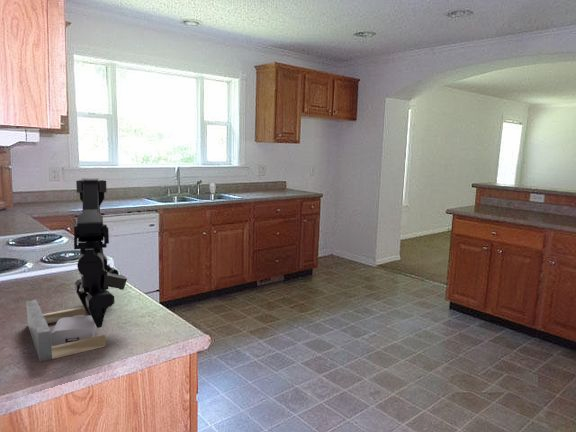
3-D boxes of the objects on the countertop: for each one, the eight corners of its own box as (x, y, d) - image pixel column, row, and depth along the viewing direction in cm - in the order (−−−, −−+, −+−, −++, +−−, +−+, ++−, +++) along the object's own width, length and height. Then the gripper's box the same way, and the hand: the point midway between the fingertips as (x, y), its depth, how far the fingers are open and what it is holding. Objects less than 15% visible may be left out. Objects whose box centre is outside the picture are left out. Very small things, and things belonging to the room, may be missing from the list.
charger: (98, 322, 122) (92, 345, 108) (62, 325, 119) (52, 349, 105) (97, 306, 122) (91, 327, 108) (61, 309, 119) (50, 331, 105)
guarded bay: (27, 325, 118) (26, 301, 117) (84, 314, 127) (83, 292, 126) (39, 361, 99) (37, 333, 97) (106, 346, 107) (104, 319, 106)
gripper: (133, 269, 112) (135, 326, 114) (114, 255, 127) (116, 305, 129) (87, 276, 105) (90, 336, 108) (72, 260, 120) (75, 313, 122)
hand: (95, 321), depth 117 cm, fingers open, 9 cm apart
